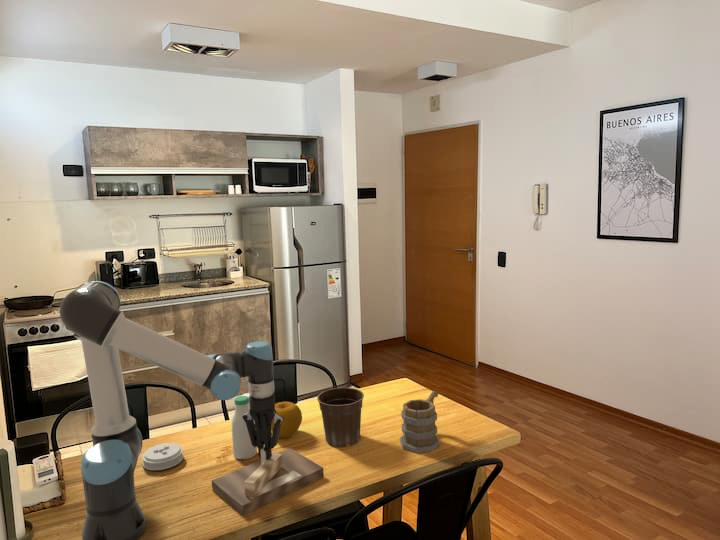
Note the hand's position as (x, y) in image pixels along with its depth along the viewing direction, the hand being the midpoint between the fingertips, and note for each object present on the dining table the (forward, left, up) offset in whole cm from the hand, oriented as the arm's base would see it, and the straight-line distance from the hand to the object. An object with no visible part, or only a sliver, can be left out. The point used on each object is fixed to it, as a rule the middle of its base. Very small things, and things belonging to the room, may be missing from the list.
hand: (265, 467), depth 162 cm
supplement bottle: (+16, +36, -5) cm, 40 cm away
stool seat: (0, -2, -4) cm, 5 cm away
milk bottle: (+4, +19, -5) cm, 20 cm away
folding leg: (-3, -4, -1) cm, 5 cm away
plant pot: (+34, +4, -5) cm, 34 cm away
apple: (+22, +22, -5) cm, 32 cm away
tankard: (+54, -17, -5) cm, 56 cm away
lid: (-18, +34, -5) cm, 39 cm away
